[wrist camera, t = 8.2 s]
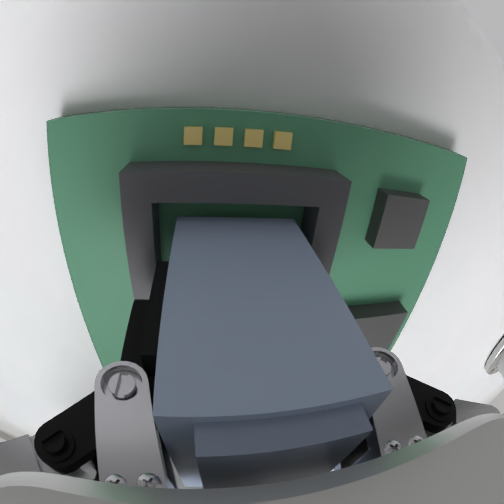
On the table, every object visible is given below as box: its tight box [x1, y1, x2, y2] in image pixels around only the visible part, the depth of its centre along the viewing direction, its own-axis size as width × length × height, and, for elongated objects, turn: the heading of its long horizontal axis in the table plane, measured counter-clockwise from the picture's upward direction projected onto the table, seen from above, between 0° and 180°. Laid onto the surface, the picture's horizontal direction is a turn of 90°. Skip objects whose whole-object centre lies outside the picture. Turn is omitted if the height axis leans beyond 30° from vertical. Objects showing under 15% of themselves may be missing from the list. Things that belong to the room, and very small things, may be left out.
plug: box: [153, 217, 393, 489], centre depth 8 cm, size 4×5×8 cm
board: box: [47, 107, 467, 368], centre depth 13 cm, size 18×14×3 cm
